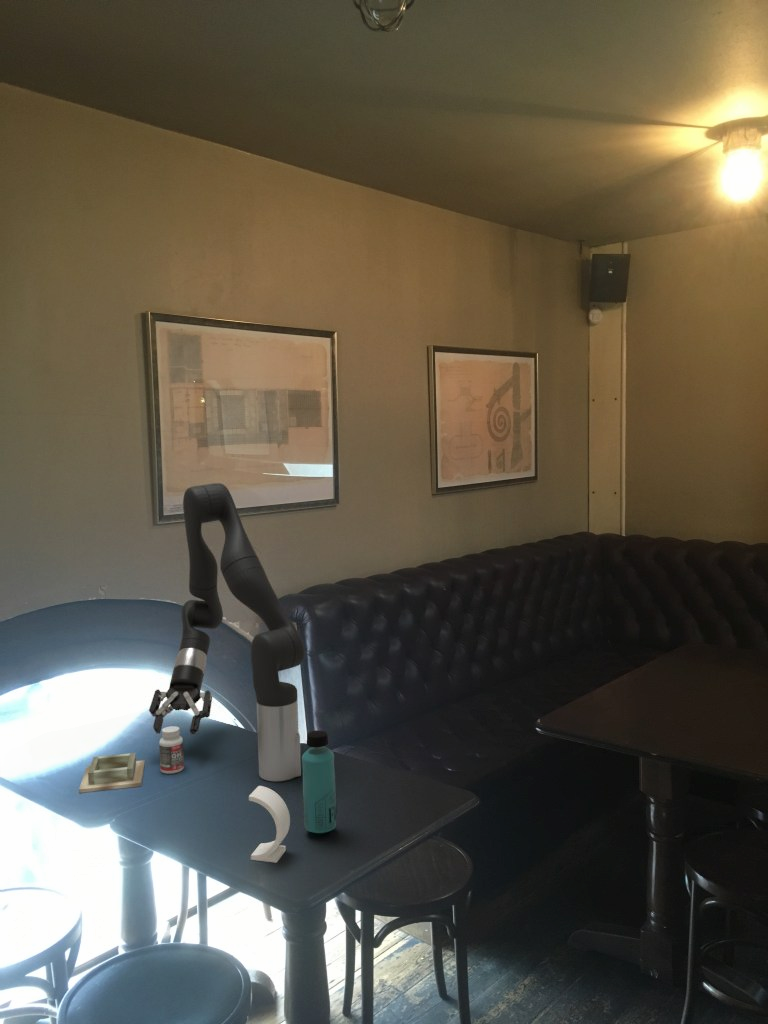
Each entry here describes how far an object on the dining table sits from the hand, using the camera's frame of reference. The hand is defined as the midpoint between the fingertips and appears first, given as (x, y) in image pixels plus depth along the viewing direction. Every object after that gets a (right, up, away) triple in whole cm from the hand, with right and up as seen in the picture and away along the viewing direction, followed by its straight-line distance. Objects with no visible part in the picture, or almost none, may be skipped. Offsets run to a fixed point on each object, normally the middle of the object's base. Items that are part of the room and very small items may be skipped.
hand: (174, 732), depth 190 cm
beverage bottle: (+37, -11, -33) cm, 51 cm away
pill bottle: (0, -8, -2) cm, 9 cm away
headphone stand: (+29, -11, -41) cm, 52 cm away
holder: (-12, -9, -6) cm, 16 cm away
